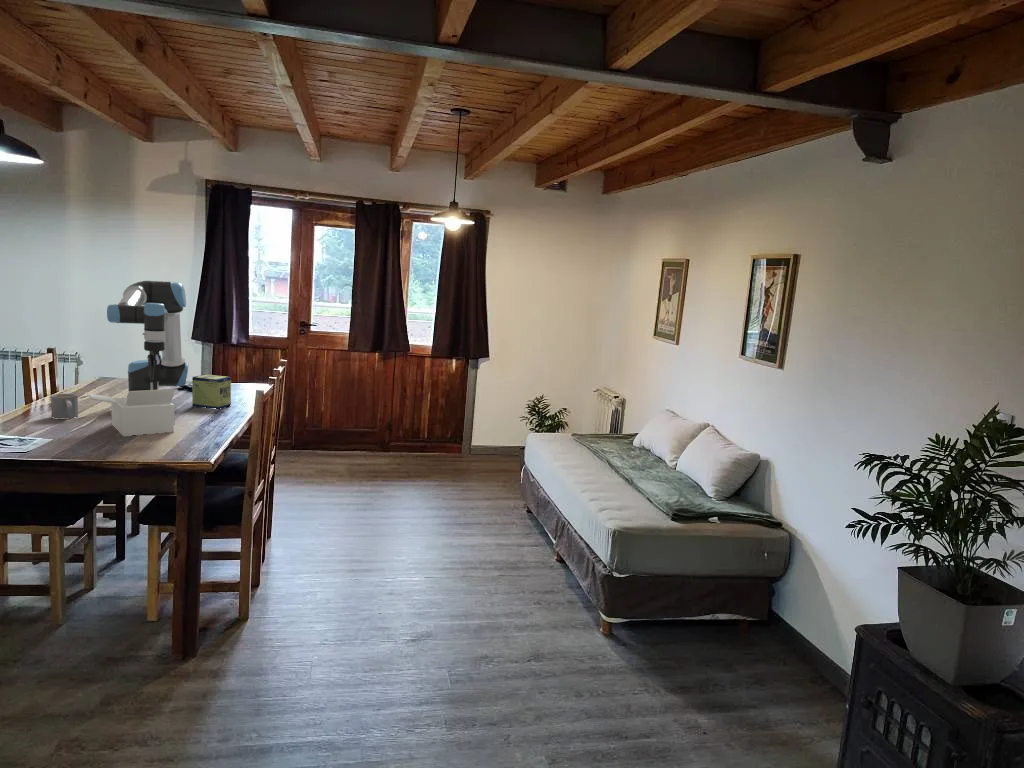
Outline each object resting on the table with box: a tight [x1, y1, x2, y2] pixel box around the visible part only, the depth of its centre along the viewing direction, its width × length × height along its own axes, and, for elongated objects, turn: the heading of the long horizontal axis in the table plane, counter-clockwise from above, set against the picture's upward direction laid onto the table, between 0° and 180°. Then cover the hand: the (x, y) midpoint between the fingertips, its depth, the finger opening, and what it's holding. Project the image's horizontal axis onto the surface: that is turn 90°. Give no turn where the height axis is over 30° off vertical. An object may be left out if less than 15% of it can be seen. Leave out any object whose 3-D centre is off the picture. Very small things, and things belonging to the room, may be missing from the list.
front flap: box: [126, 388, 175, 406], centre depth 282 cm, size 1×17×9 cm
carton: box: [111, 396, 176, 437], centre depth 295 cm, size 24×20×12 cm
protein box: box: [191, 374, 232, 410], centre depth 349 cm, size 10×16×16 cm
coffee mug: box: [50, 393, 79, 419], centre depth 305 cm, size 13×10×10 cm
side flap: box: [86, 393, 118, 404], centre depth 286 cm, size 13×1×9 cm
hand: (154, 397), depth 284 cm, fingers closed
